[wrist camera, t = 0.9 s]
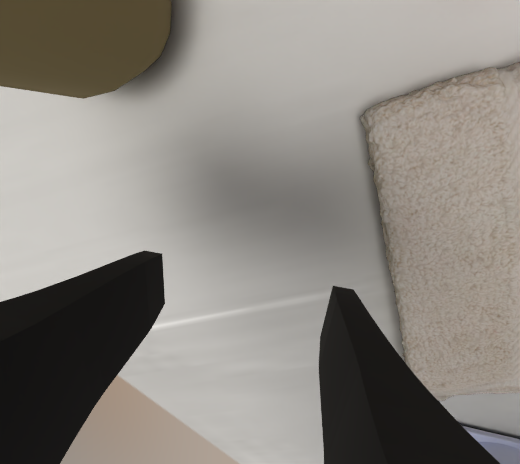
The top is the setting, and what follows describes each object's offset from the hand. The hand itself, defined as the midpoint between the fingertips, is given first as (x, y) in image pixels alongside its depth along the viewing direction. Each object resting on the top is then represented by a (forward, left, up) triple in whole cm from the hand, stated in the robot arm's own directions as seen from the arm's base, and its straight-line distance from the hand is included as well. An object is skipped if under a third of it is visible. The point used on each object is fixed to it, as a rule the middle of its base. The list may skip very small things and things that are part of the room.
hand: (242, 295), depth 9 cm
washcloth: (0, -12, -9) cm, 15 cm away
